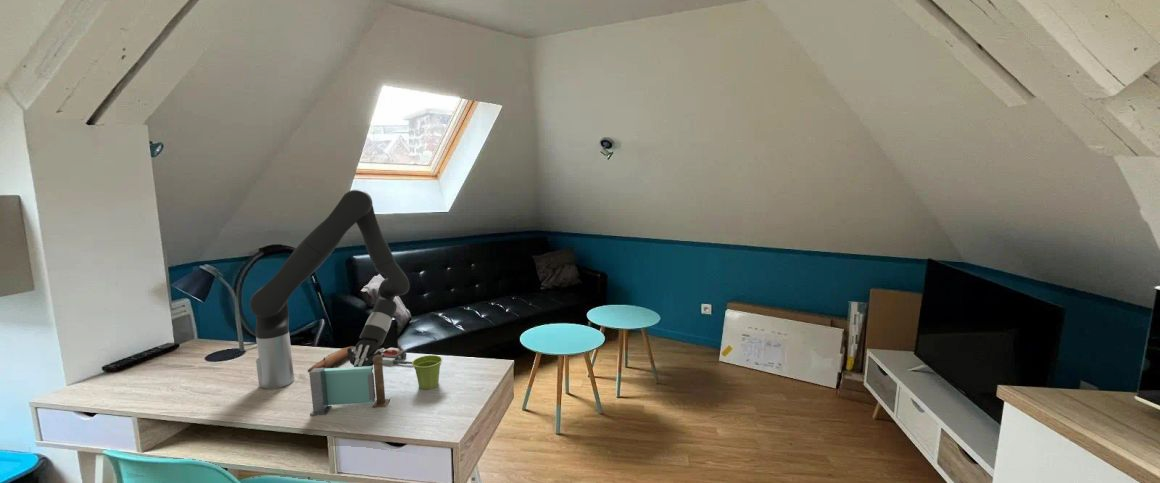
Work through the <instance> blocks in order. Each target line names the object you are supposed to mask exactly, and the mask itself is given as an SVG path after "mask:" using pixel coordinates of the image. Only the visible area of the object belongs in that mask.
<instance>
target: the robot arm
mask: <svg viewBox="0 0 1160 483" xmlns="http://www.w3.org/2000/svg"><path fill="white" fill-rule="evenodd" d="M355 224H356V226H357V227H358V228H359V231H360V233H361V236H362V238H363V241H364V245H365V248H366V251H367V253H368V256H369V258H370V261H371V262H372V264H373V267H374V269H375V271H376V272H377V274H382V275H384V276H385V277H386V278H385V279H383V280H382V281H381V283H380V284H379V285H378V288H377V289H378V290H377V295H376V296H377V297H376V301H375V302H376V303H375V305H374V306H373V309H372V311H371V313H370V315H369V316H368V318H367V320H366V322H365V325H364V327H363V328H362V331H361V333H360V335H359V340H358V342H357V343H356V345H355V346H354V348H352V349H351V348H349V349H348V350H347V352H348V356H349V358H348V359H349V363H350V364H351V365H353V367H364V366H373V367H374V363H373V357H374V356H376V355H380V356H382V357H384V354H383V353H382V352H381V351H380V349H382V347H381V346H382V345H383V343H384V342H385V339H386V337H387V334H388V332H389V329H390V328H391V325H392V322H393V318H394V316H395V314H396V312H397V310H398V309H397V306H398V305H397V303H396V302H395V301H394V299H395V297H399V296H403V295H406V294H408V292H409V290H410V281H409V278H408V276H407V275H406V273H405V272H404V271H403V269H402V268H401V266H400V265H399V264H397V262H396V260H395V257H394V255H393V253H392V250H391V249H390V246H389V244H388V242H387V240H386V238H385V236H384V235H383V231H382V230H381V228H380V226H379V223H378V221H377V217H376V214H375V208H374V206H373V199H372V197H371V195H370V194H369V193H368V192H367V191H364V190H362V189H351V190H349V191H346V193H344V195H343V196H342V198H340V200H339V201H338V203H337V205H336V206H335V207H334V209H333V210H332V211H331V213H330V214H329V215H328V216H327V217H326V218H325V220H323V221H322V222H321V223H320V224H318V226H316V227H314V229H313V230H312V231H311V232H310V233H309V234H308V235H307V236H306V237H305V238H304V239H303V240H302V241H301V242H300V243H299V244H298V245H297V247H296V248H295V249H294V250H293V251H292V252H291V254H290V255H289V256H288V258H287V259H286V261H285V262H284V263H283V265H282V266H281V268H280V269H279V270H278V272H277V273H276V274H275V275H274V276H273V277H272V278H271V279H270V280H269V281H268V282H267V283H266V284H265V285H263V286H261V287H260V288H259V289H258V290H257V291H255V293H254V294H252V296H251V298H250V301H249V308H250V311H251V313H252V314H253V315H254V316H256V322H255V323H256V325H255V339H256V340H255V341H256V347H257V359H256V360H255V364H256V371H257V372H256V373H257V380H258V387H259V388H263V389H266V390H267V389H268V390H269V389H271V390H274V389H278V388H279V389H280V388H283V387H286V386H288V385H290V384H292V383H293V382H294V381H295V373H294V372H295V371H294V365H293V355H292V346H291V337H290V336H291V335H290V329H289V328H290V327H289V323H290V313H289V304H288V300H289V299H290V297H291V295H292V294H293V293H294V291H296V290H297V288H298V287H299V286H300V285H301V284H303V283H304V282H305V281H306V280H307V279H308V278H309V277H310V276H311V275H312V274H314V273H315V272H316V271H317V270H318V269H319V268H320V267H321V266H322V264H324V262H325V261H326V260H327V259H328V258H329V257H330V256H331V255H332V253H333V252H335V249H337V247H338V246H339V244H340V242H341V240H342V239H343V237H344V235H346V233H347V232H348V231H349V230H350V229H351V228H352V227H353V226H354V225H355ZM356 352H357V353H356Z"/></svg>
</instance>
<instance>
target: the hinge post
mask: <svg viewBox="0 0 1160 483" xmlns="http://www.w3.org/2000/svg"><path fill="white" fill-rule="evenodd" d="M382 361H383V358H382V356H380V355H376V356H374V357H373V363H374V365H373V374H374V385H375V401H374V403H372V409H375V408H377V409H378V408H379V409H380V408H386V407H388V404H389V403H390V401H391V398H386V394H385V393H386V391H385V382H384V381H385V380H384V367H383V364H382Z"/></svg>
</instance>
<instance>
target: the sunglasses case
mask: <svg viewBox="0 0 1160 483" xmlns="http://www.w3.org/2000/svg"><path fill="white" fill-rule="evenodd" d="M354 347H355V346H354V345H351V346H347V347H343V348H340V349H339V350H336V351H334V352H332V353H330V354H328V355H326V356H323V359H321V360H320V361H318V362H316V363H315V364H314V365H312V366H311V367H310V368H308V369H307V371H308V372H307V373H309V372H310V371H311V370H312V369H314V368H336V366H338V365H339V364H341V363H342V362H344V361H346V360H348V359H349V356H348V352H347V350H348V349H349V348H351V349H352V348H354ZM356 353H357V352H356Z"/></svg>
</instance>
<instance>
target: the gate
mask: <svg viewBox="0 0 1160 483" xmlns="http://www.w3.org/2000/svg"><path fill="white" fill-rule="evenodd" d="M373 371H374V365H373V366H364V367H354V366H350V367H349V366H348V367H334V368H325V378H326V388H327V398H328V406H336V405H337V406H338V405H353V404H354V405H355V404H356V405H358V404H370V403H372V404H374V403H375V401H376V387H375V375H374V372H373Z"/></svg>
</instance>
